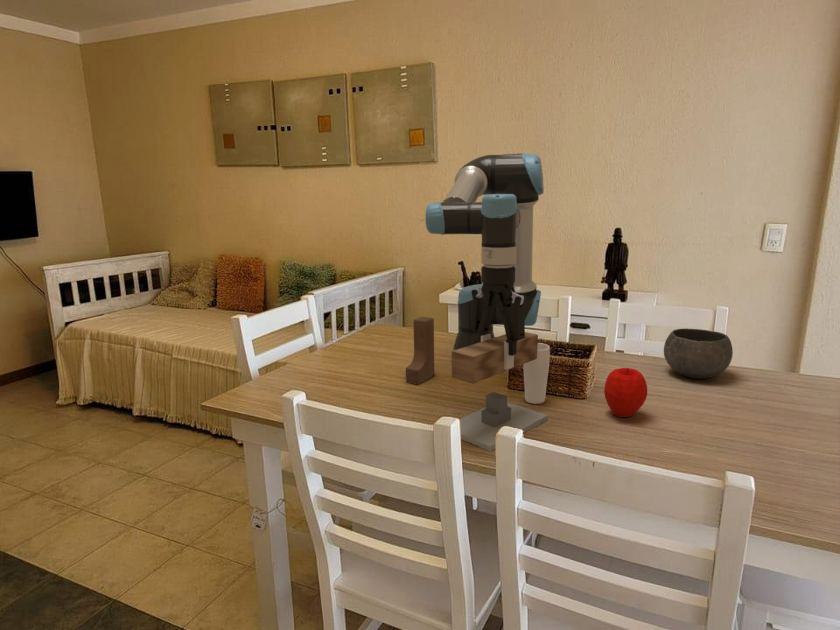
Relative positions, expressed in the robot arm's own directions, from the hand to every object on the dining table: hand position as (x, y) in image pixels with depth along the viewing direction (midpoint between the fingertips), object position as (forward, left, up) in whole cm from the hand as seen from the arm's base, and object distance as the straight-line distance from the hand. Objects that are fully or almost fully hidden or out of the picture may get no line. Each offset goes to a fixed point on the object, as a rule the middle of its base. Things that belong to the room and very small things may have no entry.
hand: (496, 364), depth 126 cm
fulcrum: (0, 0, -15) cm, 15 cm away
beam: (0, 0, -1) cm, 1 cm away
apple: (-26, +19, -15) cm, 36 cm away
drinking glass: (-19, -2, -15) cm, 25 cm away
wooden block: (-10, -36, -15) cm, 41 cm away
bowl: (-67, +21, -15) cm, 72 cm away
